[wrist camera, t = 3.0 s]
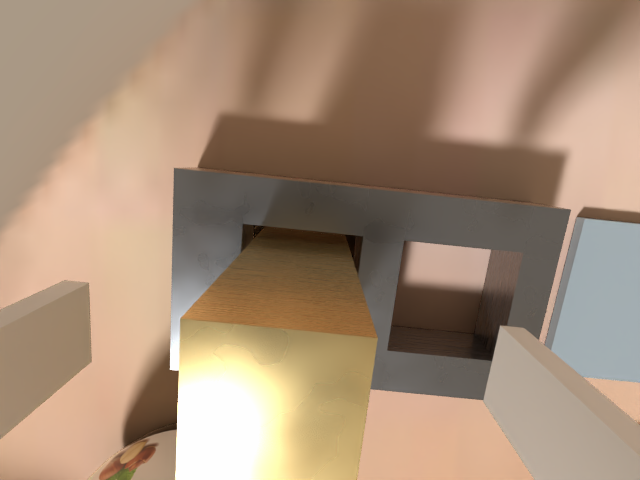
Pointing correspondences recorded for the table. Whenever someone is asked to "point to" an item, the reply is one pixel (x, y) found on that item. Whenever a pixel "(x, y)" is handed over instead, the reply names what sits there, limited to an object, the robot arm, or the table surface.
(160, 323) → the table surface
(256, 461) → the brass peg
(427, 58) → the table surface
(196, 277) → the steel socket block
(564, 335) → the slate pad
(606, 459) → the robot arm
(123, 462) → the spread jar
